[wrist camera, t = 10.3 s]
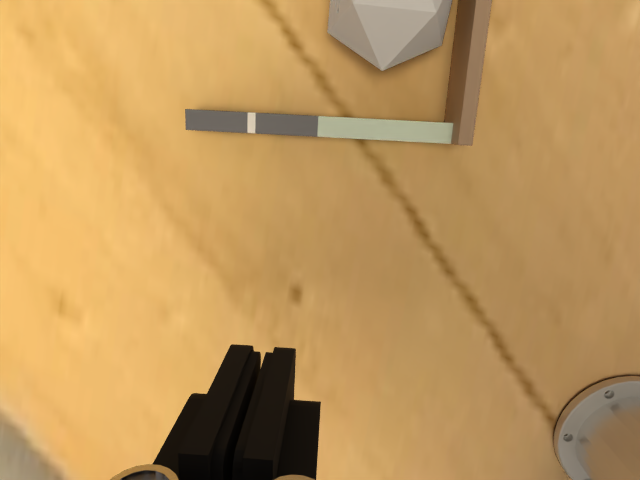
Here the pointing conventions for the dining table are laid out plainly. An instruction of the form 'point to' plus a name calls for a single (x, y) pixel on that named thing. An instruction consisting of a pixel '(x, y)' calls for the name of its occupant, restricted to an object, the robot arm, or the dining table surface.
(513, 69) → the dining table surface
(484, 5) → the trap lane
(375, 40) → the die
